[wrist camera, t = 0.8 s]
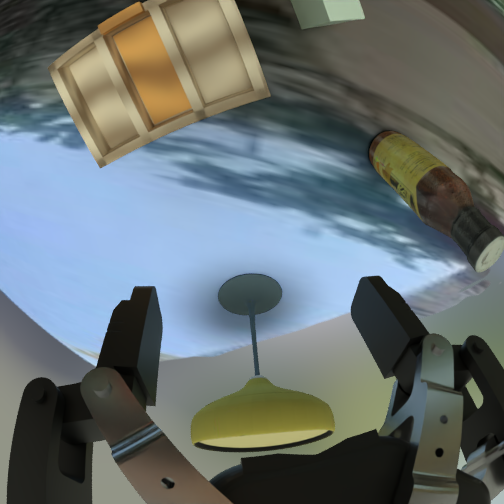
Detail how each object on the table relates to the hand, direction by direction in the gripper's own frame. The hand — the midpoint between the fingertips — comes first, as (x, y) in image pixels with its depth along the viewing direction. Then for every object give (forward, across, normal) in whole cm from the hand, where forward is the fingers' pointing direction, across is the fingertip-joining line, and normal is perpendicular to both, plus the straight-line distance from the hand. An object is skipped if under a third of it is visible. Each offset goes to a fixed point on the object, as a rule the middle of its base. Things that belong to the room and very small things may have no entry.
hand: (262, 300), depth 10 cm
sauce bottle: (+22, -20, -3) cm, 30 cm away
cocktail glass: (+28, -4, +23) cm, 37 cm away
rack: (+22, +8, -11) cm, 26 cm away
